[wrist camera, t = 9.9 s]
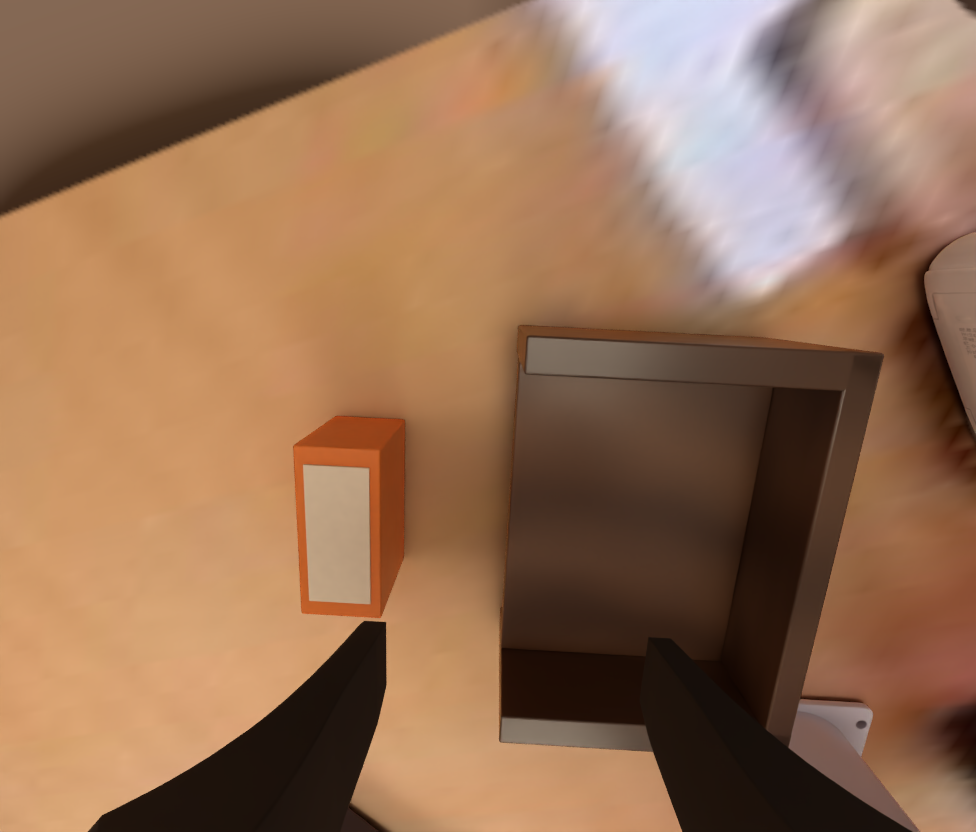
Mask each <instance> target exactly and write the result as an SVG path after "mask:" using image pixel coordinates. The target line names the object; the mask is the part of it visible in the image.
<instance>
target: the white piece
mask: <svg viewBox="0 0 976 832" xmlns="http://www.w3.org/2000/svg"><path fill="white" fill-rule="evenodd" d="M924 285H925V291H926V297H927V301H928V305H929V308H930V312H931V315H932V317H933V321H934V324H935V326H936V330H937V333H938V336H939V339H940V341H941V344H942V347H943V350H944V353H945V356H946V359H947V362H948V364H949V367H950V370H951V373H952V375H953V378H954V381H955V383H956V386H957V388H958V391H959V394H960V397H961V400H962V402H963V405H964V408H965V411H966V414H967V416H968V418H969V421H970V423H971V425H972V428H973V430H974V432H975V435H976V232H973V233H970V234H967V235H965V236H962V237H960V238H958V239H957V240H955V241H953V242H952V243H951V244H949V245H948V246H946V247H945V248H944V249H943V250H942V251H941V252H940V253H939V254H938V255H937V256H936V258H935V259H934V260H933V262H932V263H931V265H930V267H929V271H927V272H926V273H925V276H924Z"/></svg>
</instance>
